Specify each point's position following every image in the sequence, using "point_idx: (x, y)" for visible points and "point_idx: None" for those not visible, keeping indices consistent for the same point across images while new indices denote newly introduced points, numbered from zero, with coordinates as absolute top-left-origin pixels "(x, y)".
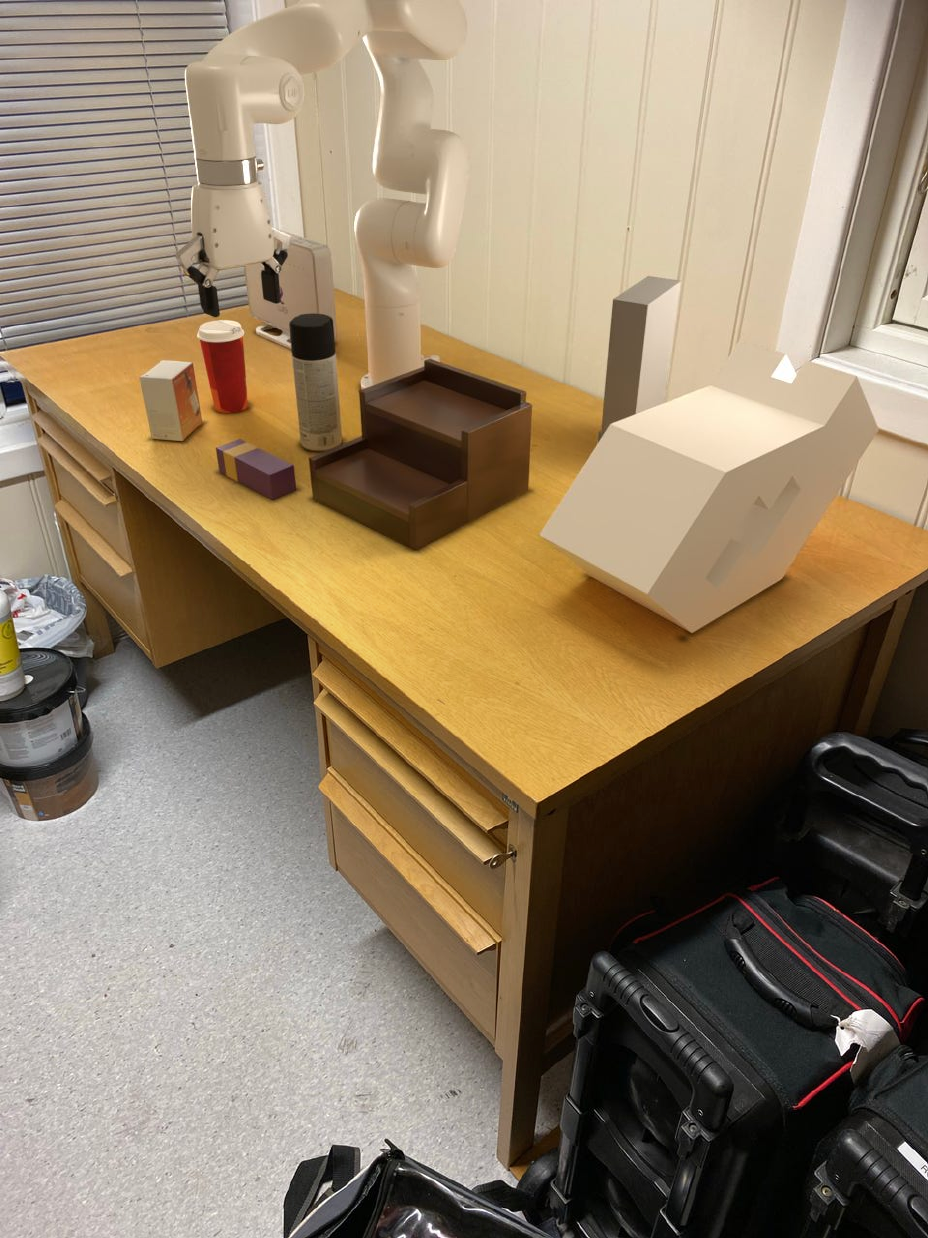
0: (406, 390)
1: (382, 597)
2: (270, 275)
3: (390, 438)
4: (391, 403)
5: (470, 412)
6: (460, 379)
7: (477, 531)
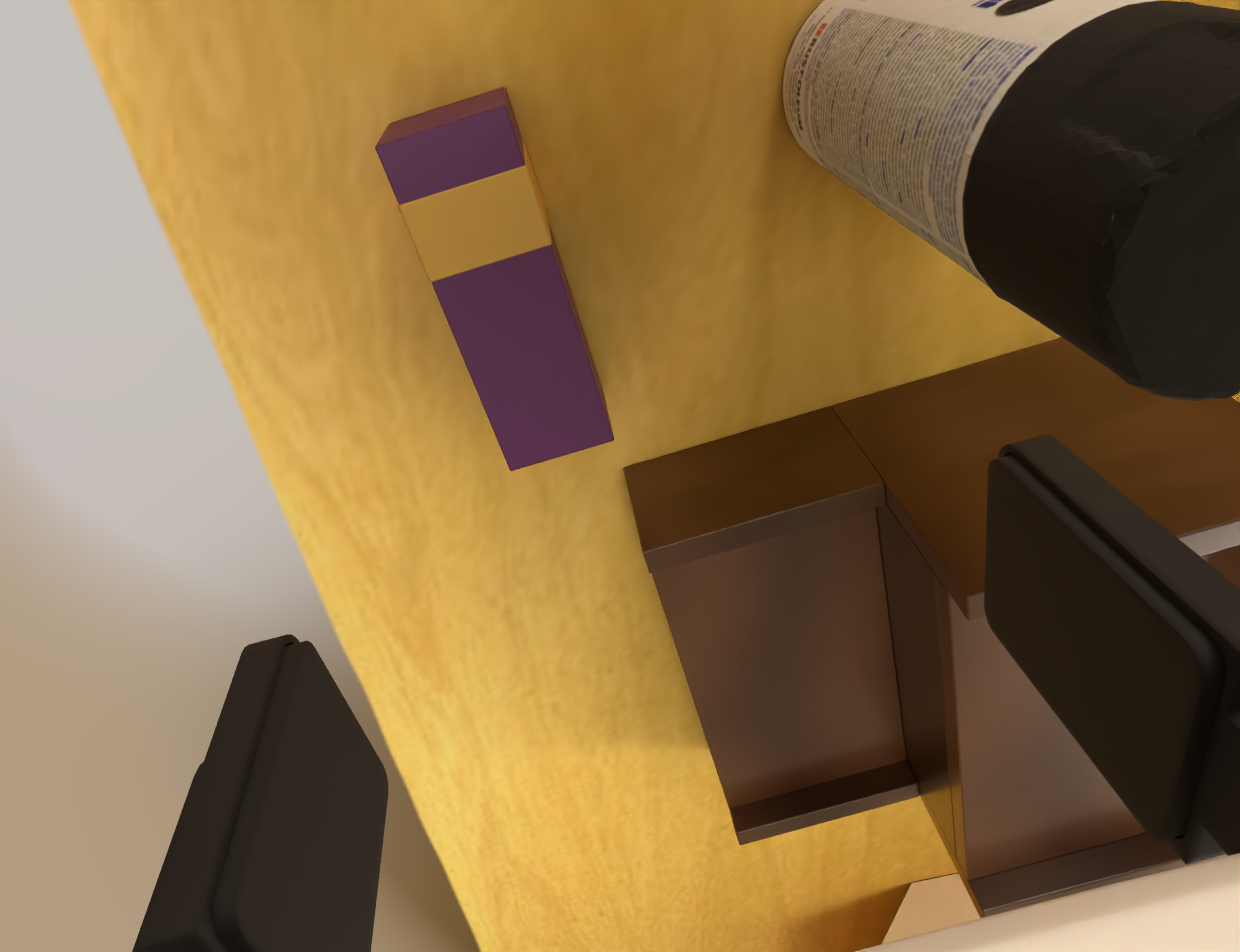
0: None
1: (571, 838)
2: (1161, 819)
3: (911, 619)
4: None
5: None
6: None
7: None
